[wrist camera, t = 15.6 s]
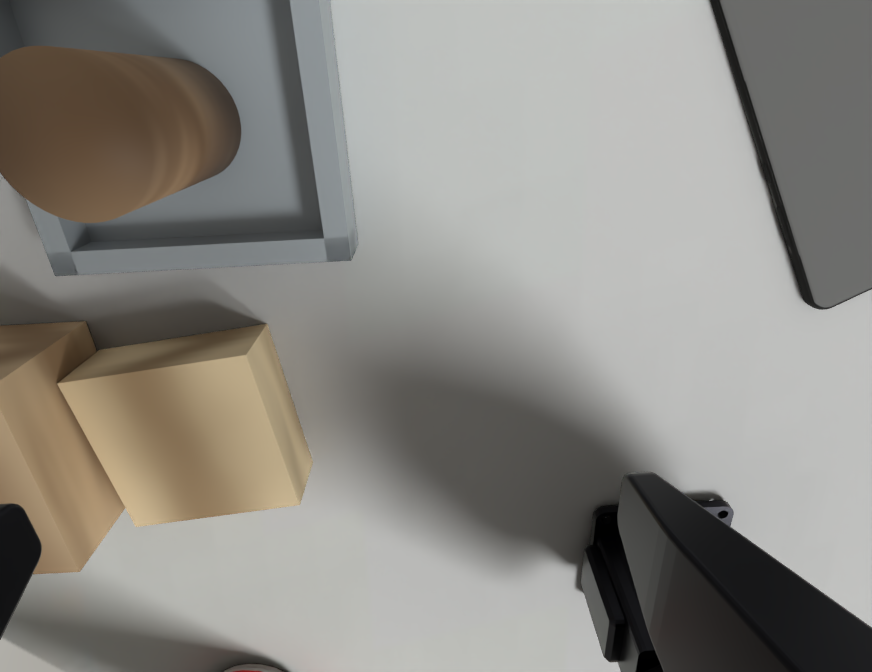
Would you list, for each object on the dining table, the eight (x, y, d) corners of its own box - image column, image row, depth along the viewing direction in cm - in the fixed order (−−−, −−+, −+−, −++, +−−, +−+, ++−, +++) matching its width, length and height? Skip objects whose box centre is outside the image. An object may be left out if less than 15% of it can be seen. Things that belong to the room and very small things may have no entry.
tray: (323, -53, 15) (310, -72, 14) (358, 244, 19) (351, 260, 18) (-13, -34, 16) (-70, -50, 14) (89, 258, 19) (54, 276, 18)
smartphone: (942, -272, 13) (1010, 227, 19) (913, -251, 14) (986, 222, 20) (684, -99, 15) (815, 318, 20) (671, -89, 16) (800, 309, 21)
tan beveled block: (269, 320, 21) (246, 354, 18) (314, 457, 24) (299, 504, 21) (103, 346, 21) (57, 383, 19) (168, 478, 24) (135, 527, 22)
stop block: (85, 321, 21) (-11, 387, 16) (144, 480, 24) (79, 571, 19) (-16, 326, 21) (-140, 394, 16) (58, 484, 24) (-28, 577, 20)
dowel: (251, 176, 17) (172, 218, 12) (145, 183, 18) (18, 227, 12) (226, 54, 16) (121, 39, 11) (109, 62, 16) (-54, 51, 11)
